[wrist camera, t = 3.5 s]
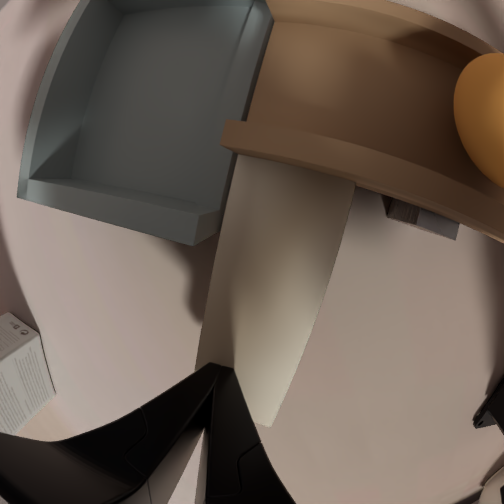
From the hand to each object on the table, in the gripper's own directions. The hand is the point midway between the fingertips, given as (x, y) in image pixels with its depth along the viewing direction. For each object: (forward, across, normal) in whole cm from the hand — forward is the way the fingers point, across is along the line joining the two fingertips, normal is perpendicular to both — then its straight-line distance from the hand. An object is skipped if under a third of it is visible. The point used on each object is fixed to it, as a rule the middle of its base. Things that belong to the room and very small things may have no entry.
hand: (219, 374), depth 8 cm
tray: (+3, +5, -9) cm, 11 cm away
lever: (0, -5, -5) cm, 7 cm away
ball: (-3, -5, -9) cm, 11 cm away
